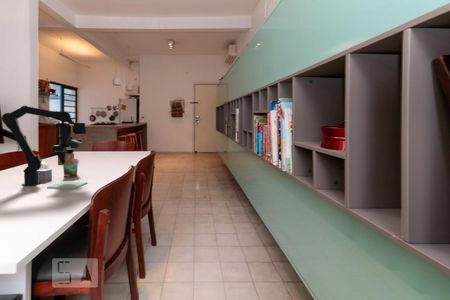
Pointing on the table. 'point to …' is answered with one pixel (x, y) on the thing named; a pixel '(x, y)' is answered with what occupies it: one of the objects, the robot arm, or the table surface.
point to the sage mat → (67, 185)
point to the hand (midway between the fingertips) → (66, 162)
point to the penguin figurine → (44, 165)
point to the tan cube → (67, 159)
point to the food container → (71, 169)
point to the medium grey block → (44, 174)
